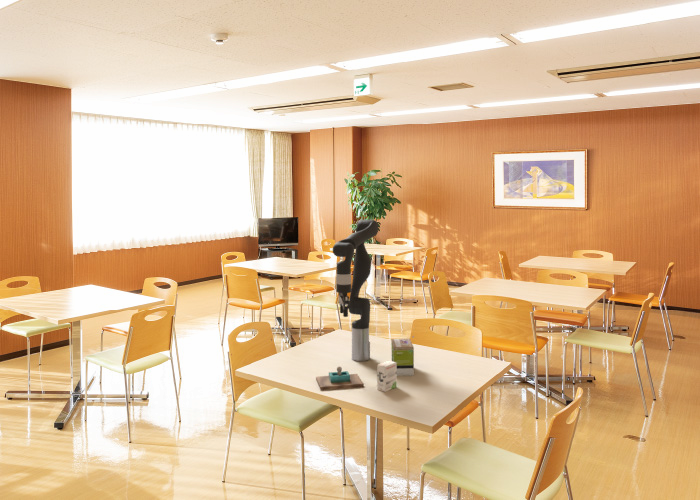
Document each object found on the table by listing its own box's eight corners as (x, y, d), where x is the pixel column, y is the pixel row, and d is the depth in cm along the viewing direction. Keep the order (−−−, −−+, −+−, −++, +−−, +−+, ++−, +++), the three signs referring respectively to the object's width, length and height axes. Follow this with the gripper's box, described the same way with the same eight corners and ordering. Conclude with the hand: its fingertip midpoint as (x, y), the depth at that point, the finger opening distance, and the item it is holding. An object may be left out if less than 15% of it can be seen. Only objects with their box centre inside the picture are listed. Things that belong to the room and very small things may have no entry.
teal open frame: (347, 377, 259) (347, 371, 258) (350, 381, 253) (350, 375, 252) (328, 378, 257) (328, 372, 256) (330, 383, 251) (330, 376, 251)
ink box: (388, 384, 253) (388, 359, 252) (397, 387, 250) (397, 362, 248) (376, 389, 247) (376, 364, 246) (385, 392, 243) (385, 366, 242)
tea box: (390, 366, 280) (391, 338, 278) (410, 366, 280) (410, 337, 278) (393, 376, 265) (393, 346, 263) (414, 375, 265) (414, 346, 263)
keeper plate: (357, 376, 264) (357, 360, 263) (363, 386, 250) (363, 369, 249) (316, 379, 260) (315, 363, 259) (320, 390, 246) (320, 372, 245)
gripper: (354, 284, 264) (354, 317, 266) (348, 280, 278) (348, 311, 279) (338, 285, 262) (339, 318, 264) (333, 280, 276) (334, 312, 278)
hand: (343, 314), depth 272 cm, fingers open, 8 cm apart
